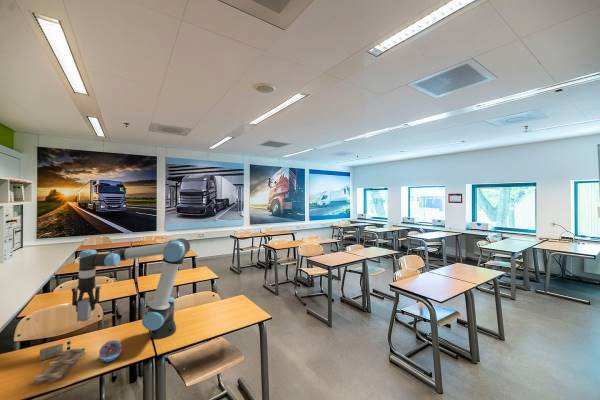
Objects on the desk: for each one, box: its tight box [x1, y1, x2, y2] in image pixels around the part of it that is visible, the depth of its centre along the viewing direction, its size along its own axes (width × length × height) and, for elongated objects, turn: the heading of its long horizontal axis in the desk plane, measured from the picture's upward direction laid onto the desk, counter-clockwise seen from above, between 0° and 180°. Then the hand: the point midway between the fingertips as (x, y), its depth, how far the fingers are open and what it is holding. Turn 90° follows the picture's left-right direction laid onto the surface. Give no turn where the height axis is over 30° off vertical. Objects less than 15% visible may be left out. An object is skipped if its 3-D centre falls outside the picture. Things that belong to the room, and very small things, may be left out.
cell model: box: [98, 339, 123, 363], centre depth 134 cm, size 10×12×10 cm
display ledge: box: [33, 347, 86, 385], centre depth 127 cm, size 10×22×3 cm, turn 18°
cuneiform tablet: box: [39, 340, 72, 362], centre depth 136 cm, size 7×4×12 cm
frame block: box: [76, 296, 94, 322], centre depth 144 cm, size 5×7×11 cm
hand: (85, 316), depth 144 cm, fingers closed on frame block, 5 cm apart
